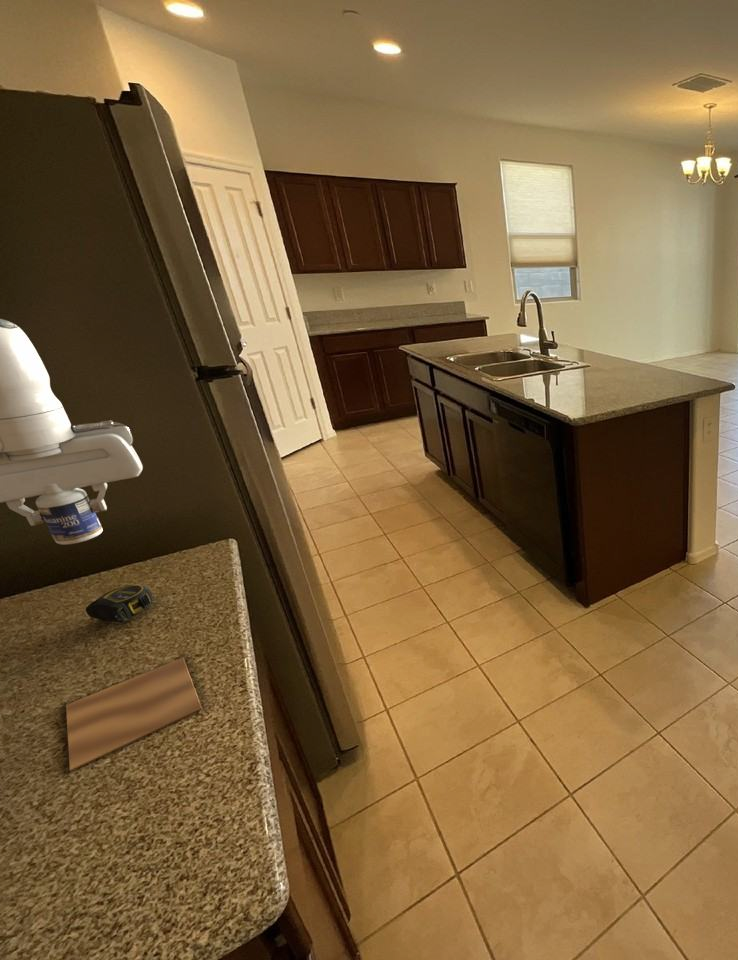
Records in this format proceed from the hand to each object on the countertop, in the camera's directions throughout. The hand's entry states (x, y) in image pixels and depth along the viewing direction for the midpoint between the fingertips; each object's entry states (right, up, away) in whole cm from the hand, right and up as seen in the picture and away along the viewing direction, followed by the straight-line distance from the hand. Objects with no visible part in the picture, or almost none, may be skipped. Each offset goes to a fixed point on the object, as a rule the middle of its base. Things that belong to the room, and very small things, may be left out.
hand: (70, 516), depth 81 cm
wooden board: (+23, -24, -13) cm, 36 cm away
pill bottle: (0, -3, +2) cm, 4 cm away
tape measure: (+4, -17, +5) cm, 18 cm away
